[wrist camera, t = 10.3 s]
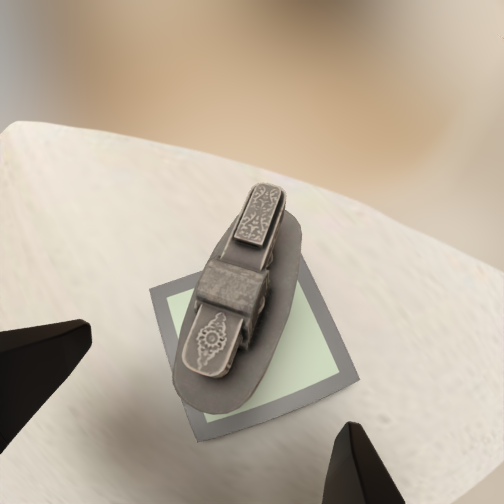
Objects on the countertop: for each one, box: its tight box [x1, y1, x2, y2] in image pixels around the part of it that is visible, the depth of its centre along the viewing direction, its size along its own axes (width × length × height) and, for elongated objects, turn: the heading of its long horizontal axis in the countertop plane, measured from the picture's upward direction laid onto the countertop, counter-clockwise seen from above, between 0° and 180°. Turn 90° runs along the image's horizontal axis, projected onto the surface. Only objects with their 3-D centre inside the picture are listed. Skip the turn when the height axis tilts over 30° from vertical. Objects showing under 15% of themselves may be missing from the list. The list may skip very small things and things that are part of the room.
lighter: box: [172, 182, 302, 415], centre depth 12 cm, size 8×3×10 cm, turn 161°
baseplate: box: [149, 254, 360, 443], centre depth 18 cm, size 10×10×2 cm
